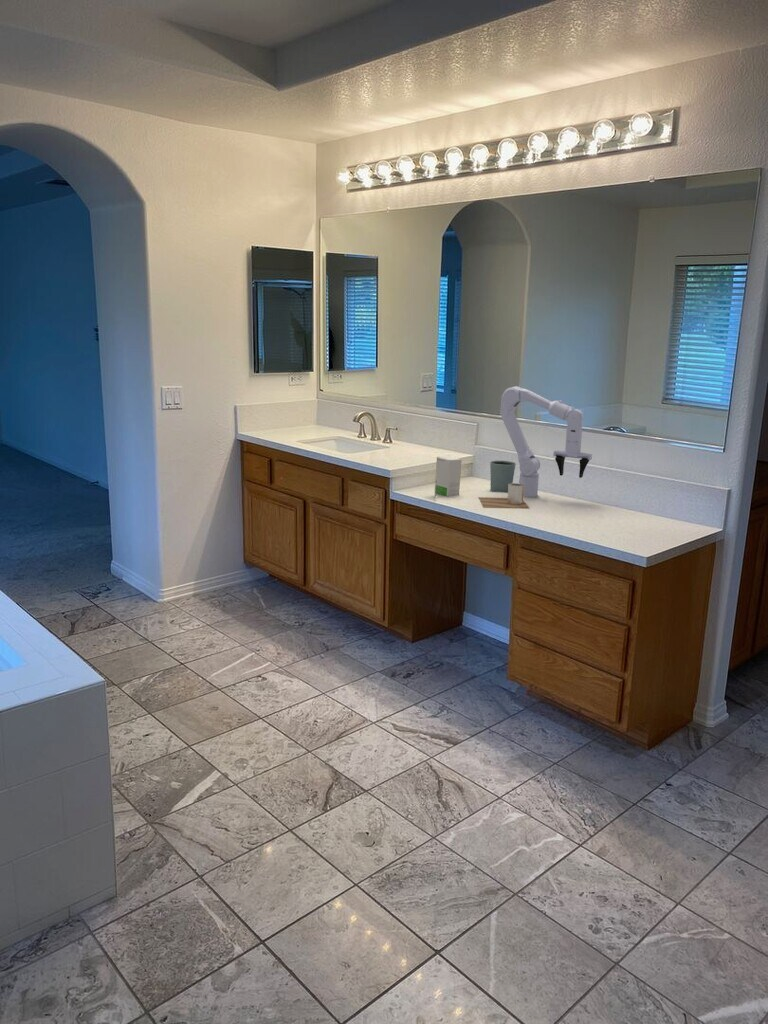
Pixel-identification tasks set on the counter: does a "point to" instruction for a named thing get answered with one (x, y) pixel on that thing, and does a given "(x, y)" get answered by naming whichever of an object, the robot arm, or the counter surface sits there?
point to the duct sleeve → (515, 493)
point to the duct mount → (500, 503)
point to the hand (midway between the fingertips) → (571, 476)
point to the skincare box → (447, 475)
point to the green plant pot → (501, 475)
